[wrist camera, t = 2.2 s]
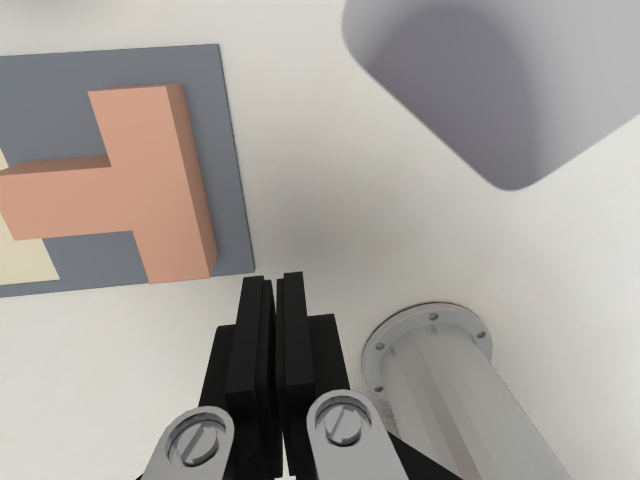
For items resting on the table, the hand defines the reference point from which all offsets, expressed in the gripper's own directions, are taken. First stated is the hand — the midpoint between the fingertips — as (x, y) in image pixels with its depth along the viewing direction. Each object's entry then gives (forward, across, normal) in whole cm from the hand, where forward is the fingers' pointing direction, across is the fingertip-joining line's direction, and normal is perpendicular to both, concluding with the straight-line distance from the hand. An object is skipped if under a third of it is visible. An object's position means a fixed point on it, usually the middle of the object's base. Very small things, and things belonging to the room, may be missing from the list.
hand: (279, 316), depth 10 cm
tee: (+16, +11, 0) cm, 20 cm away
